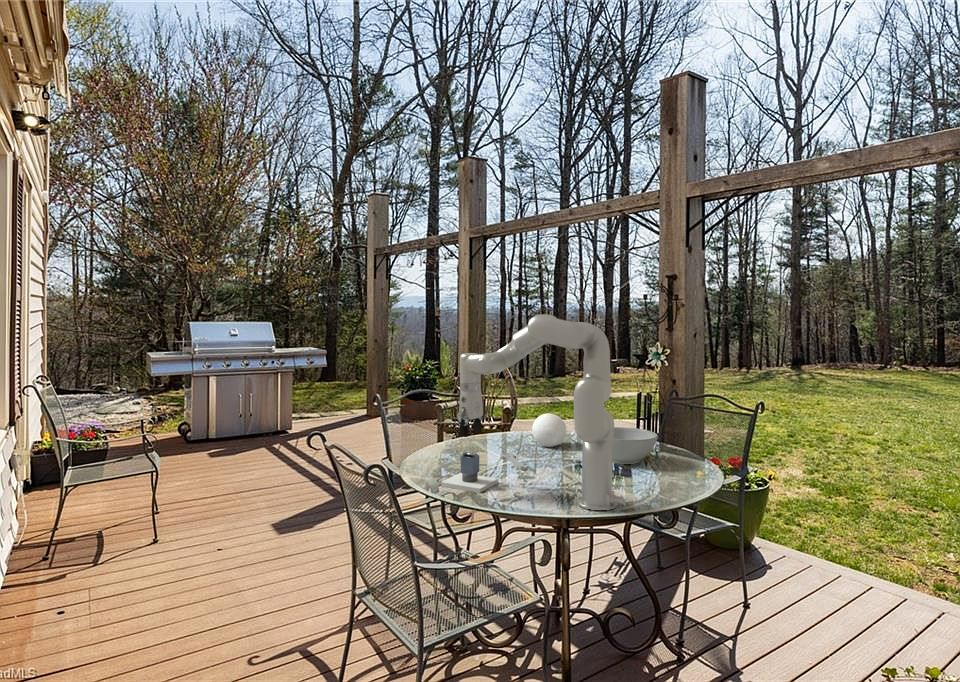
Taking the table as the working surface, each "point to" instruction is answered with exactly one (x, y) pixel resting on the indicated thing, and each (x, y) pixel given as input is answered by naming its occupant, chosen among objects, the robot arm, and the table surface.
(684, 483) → the table surface
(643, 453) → the decorative bowl
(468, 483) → the shaft mount
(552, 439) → the decorative orb
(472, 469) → the coupler
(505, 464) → the table surface
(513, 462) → the adjustable wrench
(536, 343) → the robot arm
